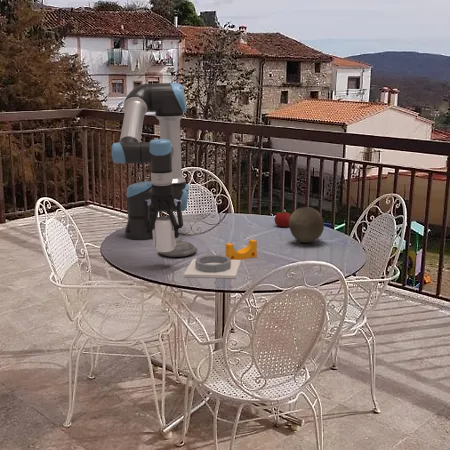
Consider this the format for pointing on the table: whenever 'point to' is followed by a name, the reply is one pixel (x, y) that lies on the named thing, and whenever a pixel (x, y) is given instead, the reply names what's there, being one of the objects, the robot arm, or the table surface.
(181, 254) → the grey stepped dome
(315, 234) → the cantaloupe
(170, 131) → the robot arm
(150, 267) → the table surface
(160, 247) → the can
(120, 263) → the table surface
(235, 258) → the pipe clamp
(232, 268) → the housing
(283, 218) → the tomato
